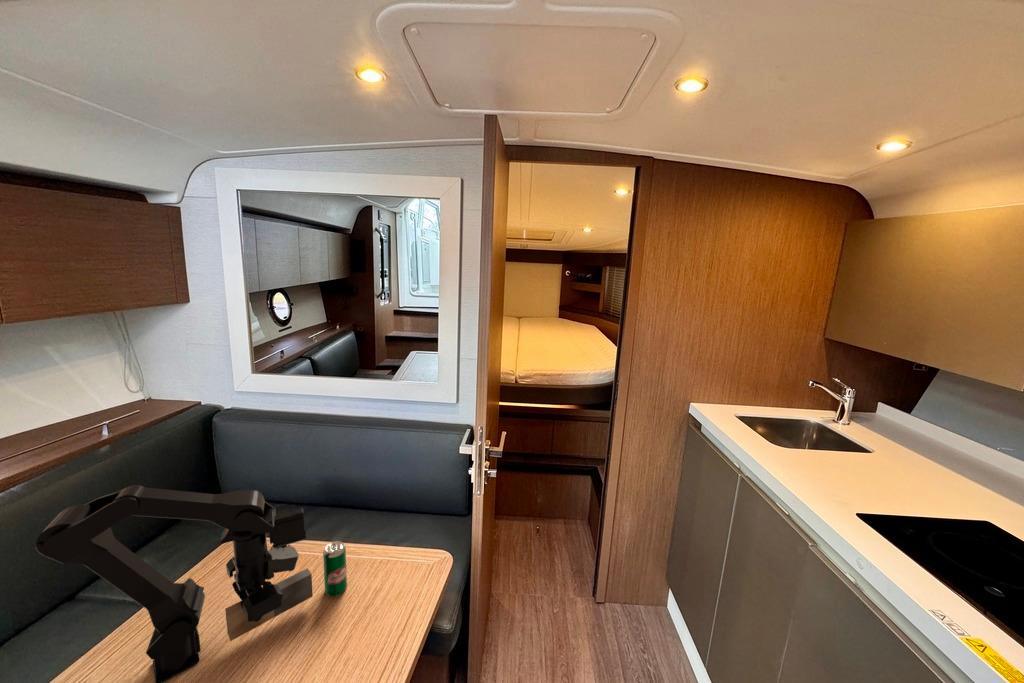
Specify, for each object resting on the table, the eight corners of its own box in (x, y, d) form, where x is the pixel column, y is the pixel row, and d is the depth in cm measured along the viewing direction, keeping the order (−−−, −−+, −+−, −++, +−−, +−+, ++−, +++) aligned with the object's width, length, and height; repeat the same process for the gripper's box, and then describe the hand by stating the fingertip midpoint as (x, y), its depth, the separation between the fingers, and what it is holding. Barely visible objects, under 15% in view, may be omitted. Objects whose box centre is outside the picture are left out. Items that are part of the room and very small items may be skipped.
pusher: (230, 641, 79) (228, 616, 78) (227, 633, 81) (225, 608, 80) (312, 596, 91) (311, 573, 90) (308, 590, 92) (307, 568, 91)
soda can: (328, 601, 93) (326, 557, 91) (322, 588, 96) (320, 545, 94) (349, 590, 96) (348, 548, 94) (343, 578, 100) (341, 537, 98)
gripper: (308, 555, 80) (312, 620, 83) (279, 515, 93) (283, 572, 95) (245, 585, 72) (251, 655, 75) (222, 537, 85) (228, 598, 87)
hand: (256, 616), depth 83 cm, fingers closed on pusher, 2 cm apart
